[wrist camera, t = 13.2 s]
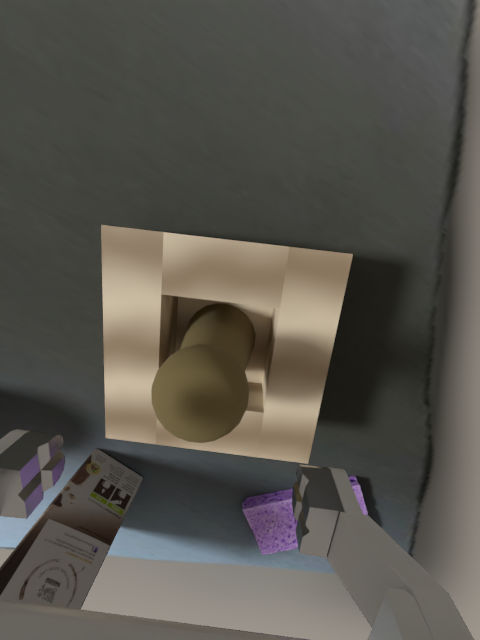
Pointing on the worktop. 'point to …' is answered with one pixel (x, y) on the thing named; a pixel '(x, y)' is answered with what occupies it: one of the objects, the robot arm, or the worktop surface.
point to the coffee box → (71, 536)
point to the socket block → (225, 288)
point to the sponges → (280, 518)
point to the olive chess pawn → (206, 376)
